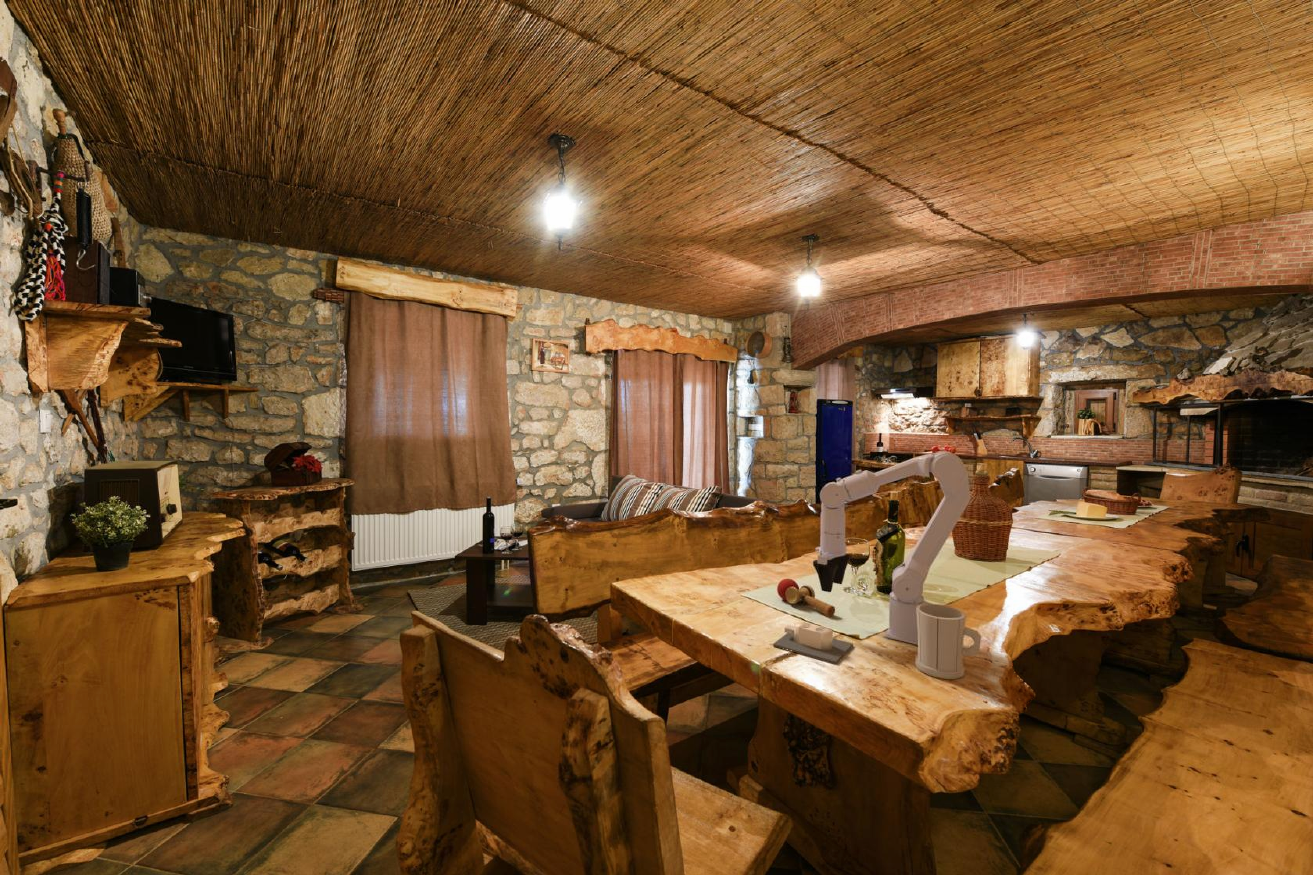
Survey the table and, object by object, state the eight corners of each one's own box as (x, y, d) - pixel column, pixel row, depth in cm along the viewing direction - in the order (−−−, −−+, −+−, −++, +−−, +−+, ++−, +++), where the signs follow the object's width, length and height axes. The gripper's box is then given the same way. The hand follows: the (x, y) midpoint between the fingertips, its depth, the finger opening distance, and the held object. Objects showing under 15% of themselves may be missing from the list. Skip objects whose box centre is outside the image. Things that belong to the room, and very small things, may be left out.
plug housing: (834, 645, 117) (835, 629, 117) (828, 651, 115) (829, 634, 114) (789, 633, 124) (789, 618, 124) (782, 638, 121) (782, 623, 121)
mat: (853, 646, 119) (853, 643, 119) (835, 664, 110) (836, 661, 110) (793, 630, 127) (793, 628, 127) (773, 646, 118) (773, 643, 118)
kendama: (842, 618, 139) (790, 589, 154) (842, 596, 137) (790, 570, 152) (821, 629, 135) (771, 599, 150) (821, 607, 133) (770, 579, 148)
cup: (955, 659, 112) (956, 602, 112) (983, 680, 103) (985, 619, 103) (906, 659, 112) (907, 603, 111) (930, 681, 103) (931, 620, 102)
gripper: (827, 525, 138) (826, 576, 138) (805, 534, 126) (804, 591, 127) (855, 528, 134) (854, 582, 134) (834, 539, 122) (834, 597, 123)
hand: (832, 587), depth 130 cm, fingers open, 7 cm apart
